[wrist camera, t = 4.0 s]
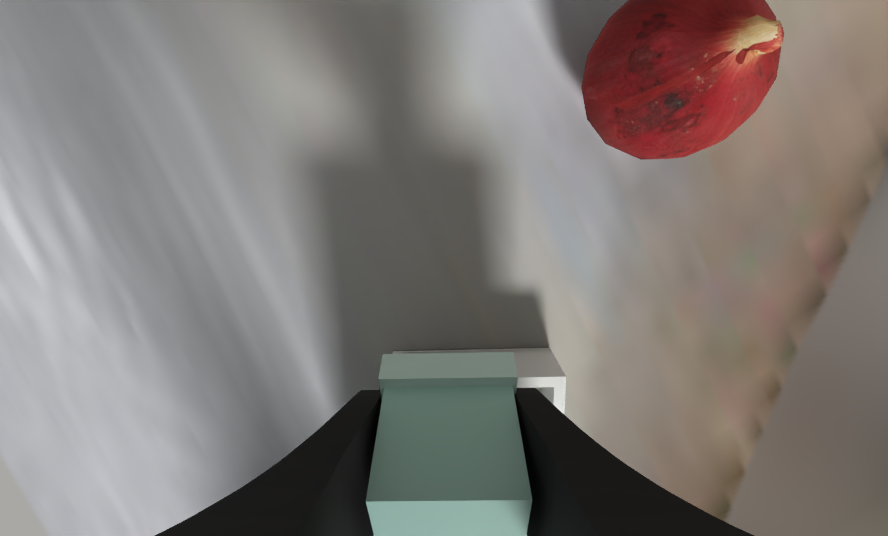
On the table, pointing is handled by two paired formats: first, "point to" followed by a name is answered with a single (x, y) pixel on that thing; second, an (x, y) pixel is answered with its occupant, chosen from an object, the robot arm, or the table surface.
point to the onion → (679, 73)
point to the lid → (448, 448)
